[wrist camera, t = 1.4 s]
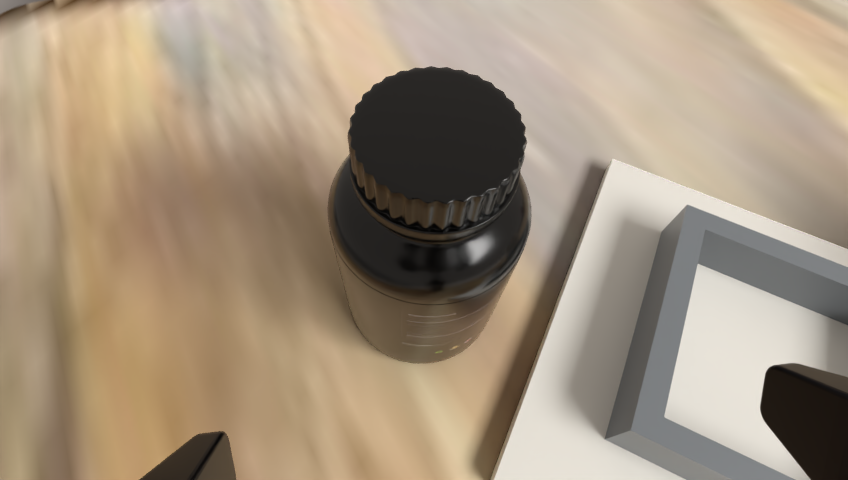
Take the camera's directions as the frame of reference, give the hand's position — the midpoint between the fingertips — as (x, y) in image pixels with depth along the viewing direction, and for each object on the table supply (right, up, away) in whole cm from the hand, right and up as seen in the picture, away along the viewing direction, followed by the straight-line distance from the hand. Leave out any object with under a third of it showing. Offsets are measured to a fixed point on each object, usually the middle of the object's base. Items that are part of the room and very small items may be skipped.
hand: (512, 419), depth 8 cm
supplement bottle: (-2, 0, +15) cm, 16 cm away
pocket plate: (+13, -4, +14) cm, 20 cm away
